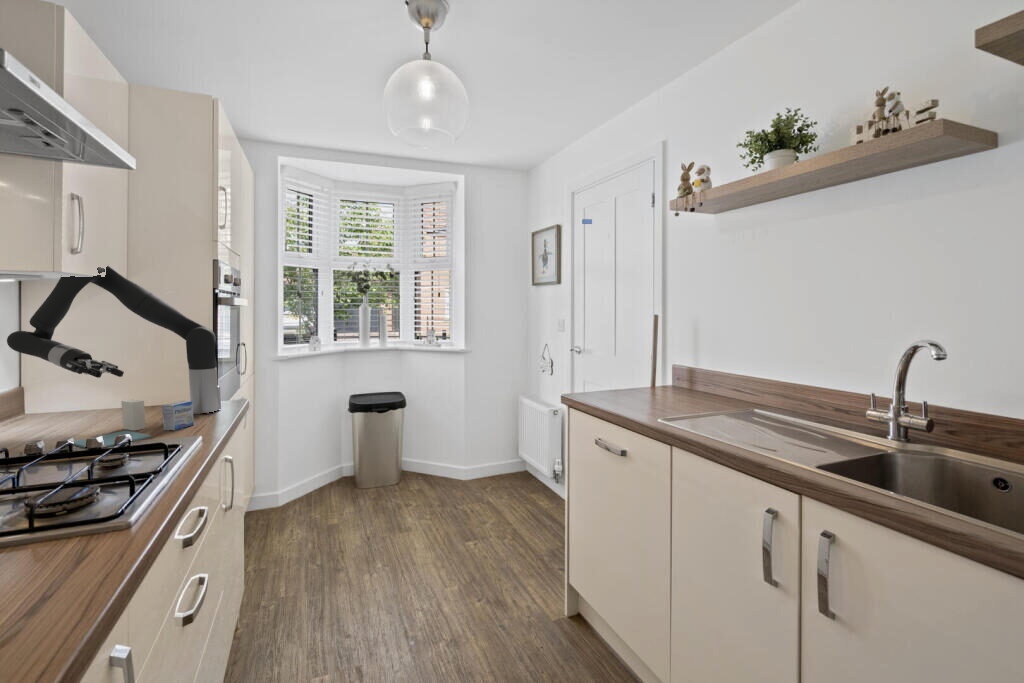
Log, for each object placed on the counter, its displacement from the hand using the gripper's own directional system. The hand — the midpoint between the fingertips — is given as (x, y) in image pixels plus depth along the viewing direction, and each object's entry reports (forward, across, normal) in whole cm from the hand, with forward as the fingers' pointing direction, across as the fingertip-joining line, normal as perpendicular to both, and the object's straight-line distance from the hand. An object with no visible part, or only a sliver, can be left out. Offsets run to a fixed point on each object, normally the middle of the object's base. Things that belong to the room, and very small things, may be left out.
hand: (111, 374), depth 166 cm
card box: (+15, 0, +14) cm, 20 cm away
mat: (+20, -15, +14) cm, 29 cm away
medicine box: (+28, +1, +9) cm, 30 cm away
